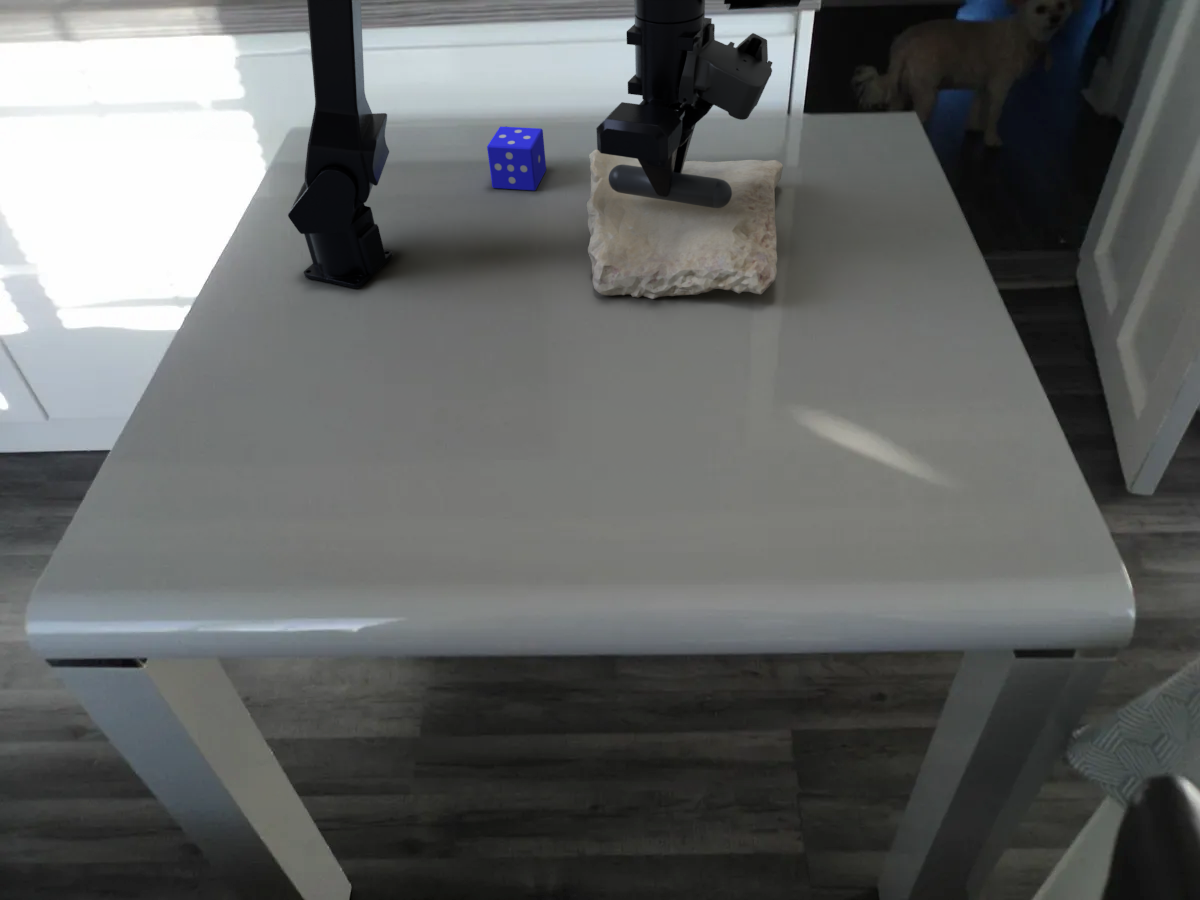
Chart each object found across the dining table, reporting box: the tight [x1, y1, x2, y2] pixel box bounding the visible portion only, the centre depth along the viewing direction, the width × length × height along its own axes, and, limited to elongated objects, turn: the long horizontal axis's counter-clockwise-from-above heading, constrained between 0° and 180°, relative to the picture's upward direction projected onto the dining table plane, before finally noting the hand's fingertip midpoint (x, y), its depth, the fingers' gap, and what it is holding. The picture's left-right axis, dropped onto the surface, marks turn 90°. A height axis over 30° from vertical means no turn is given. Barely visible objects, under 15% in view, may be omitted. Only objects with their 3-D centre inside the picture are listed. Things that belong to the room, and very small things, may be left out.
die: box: [486, 126, 547, 192], centre depth 101 cm, size 5×5×5 cm
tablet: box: [586, 149, 784, 300], centre depth 89 cm, size 24×8×20 cm
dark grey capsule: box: [609, 164, 732, 208], centre depth 84 cm, size 12×3×3 cm, turn 67°
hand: (668, 188), depth 85 cm, fingers closed on dark grey capsule, 2 cm apart
